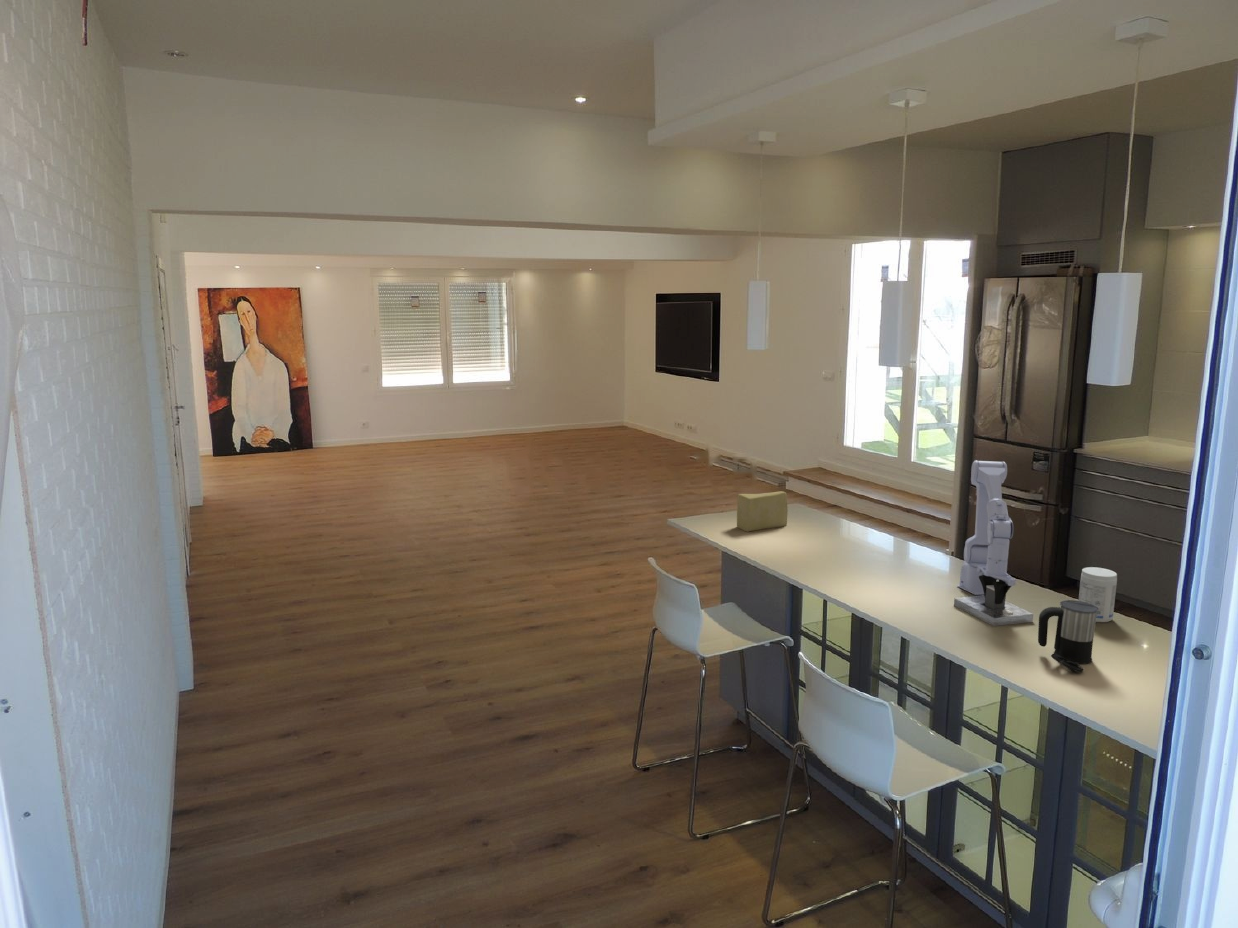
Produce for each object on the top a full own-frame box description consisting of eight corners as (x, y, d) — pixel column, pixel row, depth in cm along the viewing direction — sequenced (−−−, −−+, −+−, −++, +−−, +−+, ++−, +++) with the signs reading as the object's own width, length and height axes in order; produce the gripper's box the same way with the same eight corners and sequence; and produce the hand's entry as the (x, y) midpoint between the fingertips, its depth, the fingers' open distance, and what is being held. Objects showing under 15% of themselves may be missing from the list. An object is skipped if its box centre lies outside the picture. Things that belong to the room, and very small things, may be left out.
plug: (984, 605, 259) (986, 585, 258) (995, 604, 260) (997, 584, 259) (993, 610, 255) (995, 589, 254) (1004, 609, 257) (1007, 588, 256)
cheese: (780, 522, 366) (781, 489, 364) (792, 528, 357) (793, 493, 355) (735, 526, 358) (736, 492, 356) (746, 532, 349) (748, 497, 347)
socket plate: (953, 605, 265) (954, 596, 264) (990, 601, 269) (991, 592, 268) (993, 626, 248) (994, 616, 247) (1032, 621, 252) (1033, 611, 251)
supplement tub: (1095, 610, 261) (1100, 565, 258) (1120, 621, 252) (1126, 575, 249) (1069, 613, 259) (1074, 567, 256) (1093, 624, 250) (1099, 577, 247)
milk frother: (1080, 650, 231) (1086, 599, 228) (1115, 675, 215) (1122, 620, 213) (1029, 651, 230) (1034, 599, 228) (1060, 675, 215) (1067, 621, 212)
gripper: (970, 552, 261) (966, 594, 263) (1003, 566, 247) (999, 610, 250) (989, 551, 263) (985, 592, 265) (1023, 564, 249) (1018, 608, 251)
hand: (993, 600), depth 257 cm, fingers closed on plug, 4 cm apart
